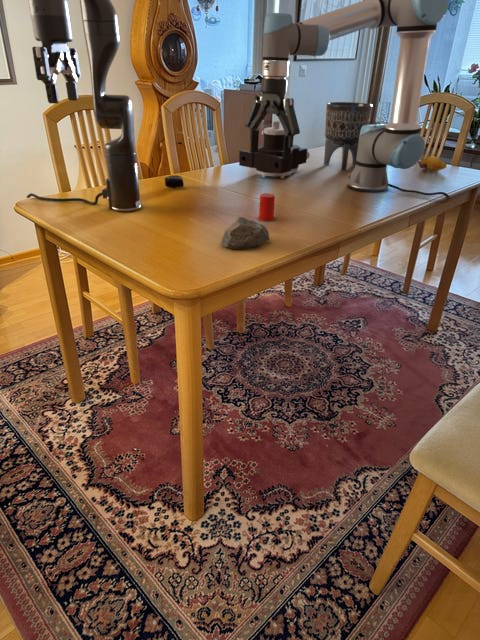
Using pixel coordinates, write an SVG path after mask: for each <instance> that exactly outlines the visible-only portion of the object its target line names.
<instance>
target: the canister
mask: <svg viewBox="0 0 480 640" xmlns="http://www.w3.org/2000/svg"><path fill="white" fill-rule="evenodd" d="M275 200H276V195H275V194H273V193H269V192H265V193H261V194H260V195H259V209H258V211H259V212H258V219H259V220H260V221H262V222H270V221H273V220H275V219H274V218H275V203H276V201H275Z"/></svg>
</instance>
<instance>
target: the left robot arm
mask: <svg viewBox="0 0 480 640" xmlns="http://www.w3.org/2000/svg"><path fill="white" fill-rule="evenodd" d="M27 3H28V7H29V8H28V9H29V13H30V19H31V25H32V30H33V37H34V39H35V41H37V42H41V46H32V48H31V49H32V50H31V51H32V56H33V57H32V58H33V64H34V69H35V70H34V71H35V76H36V80H38V81H41V82H42V83H43V84H44V87H45V92H46V98H47V102H48V104H59V103H60V98H59V92H58V87H57V84H56V82H57V77H58V75H59V74H62V76H63V78H64V80H65V87H66V94H67V100H68V101H73V102H75V101H78V100H79V93H78V86H77V82H78V79H81V78H82V74H81V68H80V63H79V55H78V50H77V48H75V47H69V45H68V43H71V42H73V41H74V37H73V30H72V24H71V16H70V9H69V3H68V0H27ZM79 6H80V15H81V20H82V21H81V22H82V28H83V35H84V41H85V46H86V53H87V58H88V64H89V72H90V80H91V91H92V92H91V94H92V104H93V113H94V119H95V121H96V124H97V126H98V127H99V128H100V129H103V130H104V129H105V130H121V134H120V135H119V136H118V137H117V138H114V139H111V140H109V141H106V142H105V143H104V144H103V145H104V146H103V147H104V155H105V156H104V157H105V163H106V164H105V165H106V171H107V178H106V179H105V185H106V186H105V188H103V189H102V190H101V192H99V193H98V194H96V196H95V198H94V201H89V200H88V199H85V198H81V197H69V198H68V197H67V198H54V197H53V198H52V197H51V198H50V197H44V196H40V195H37V194H35V193H32V192H31V193H29V194H27V195H26V199H30V198H31V197H33V198H34V199H37V200H39V201H46V202H47V201H48V202H83V203H85V204H87V205H88V204H89V205H92V206H95V205H97V204H98V202H99V198H101V197H102V199H105V200H106V199H107V201H108V209H109V210H112V211H115V212H119V213H120V212H122V213H128V212H129V213H130V212H135V211H138V210H140V209H141V208H142V200H141V193H140V184H139V183H140V182H139V172H138V163H137V162H138V161H137V151H136V136H135V118H134V104H133V101H132V98H131V97H130V96H128V95H127V94H107V92H106V91H107V89H106V87H107V86H106V83H107V77H108V74H109V71H110V68H111V66H112V63H113V61H114V59H115V58H116V55H117V53H118V51H119V47H120V43H121V36H120V27H119V22H118V21H119V20H118V19H119V18H118V14H117V11H116V8H115V5H114V4H113V2H112V1H111V0H79Z"/></svg>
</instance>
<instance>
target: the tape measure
mask: <svg viewBox="0 0 480 640" xmlns="http://www.w3.org/2000/svg"><path fill="white" fill-rule="evenodd" d="M164 185H165V187H166V188H171V189H176V188H184V180H183V177H182V176H180V175H167V176H165V177H164Z"/></svg>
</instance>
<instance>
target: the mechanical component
mask: <svg viewBox="0 0 480 640" xmlns="http://www.w3.org/2000/svg"><path fill="white" fill-rule="evenodd" d="M280 124H281V122H280V120H272V126H271V127H265V128H264V129H263V145H262V146H258V152H253V153H251V152H250V150H245V149H241V150H239V153H238V154H239V155H238V157H239V159H238V166H240V167H245V168H250V169H255V173H256V174H257V175H261V177H262V178H267V177H279V178H280V179H285V176H291V175H292V173H298V171H299V167H300V165H303V164H304V165H305V164H307V160H309V158H310V156H311V154H310V152H309V151H308V148H304V147H301V146H299V145H297V144H293V147H292V148H291V154H290V159H285V160H284V159H282V157H283V144H284V136H285V135H286V133H285V131H284V128H283V127H280Z"/></svg>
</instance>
